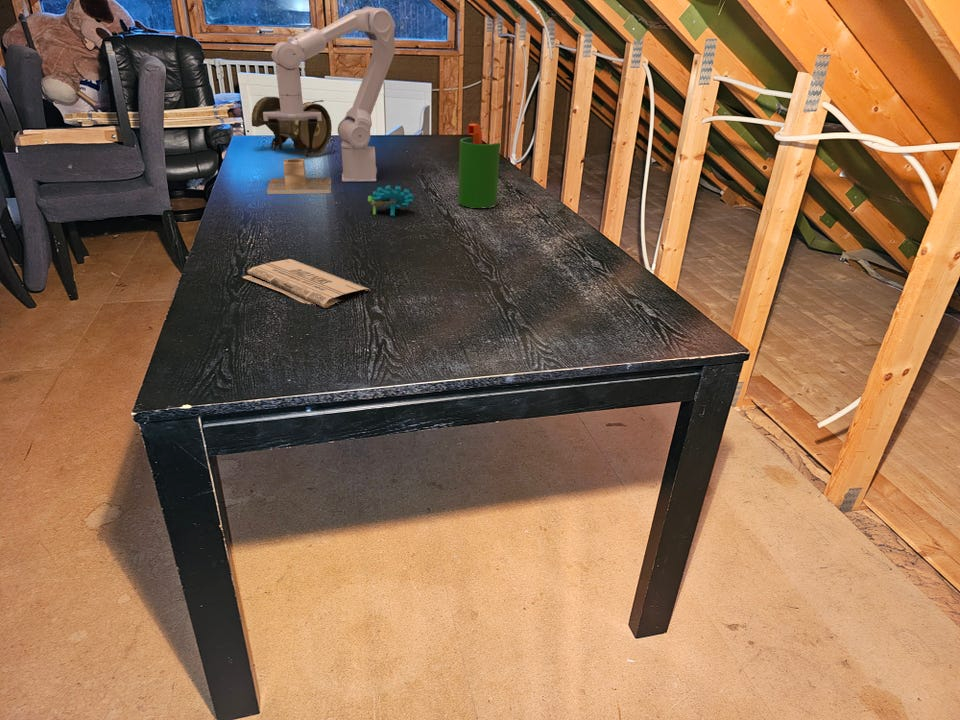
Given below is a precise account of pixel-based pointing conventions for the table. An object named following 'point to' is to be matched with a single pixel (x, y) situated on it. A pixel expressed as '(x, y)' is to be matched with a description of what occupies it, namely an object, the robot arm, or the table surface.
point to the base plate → (311, 186)
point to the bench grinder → (295, 125)
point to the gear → (390, 198)
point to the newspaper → (302, 282)
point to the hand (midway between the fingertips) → (296, 148)
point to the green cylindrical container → (478, 170)
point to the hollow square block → (294, 172)
